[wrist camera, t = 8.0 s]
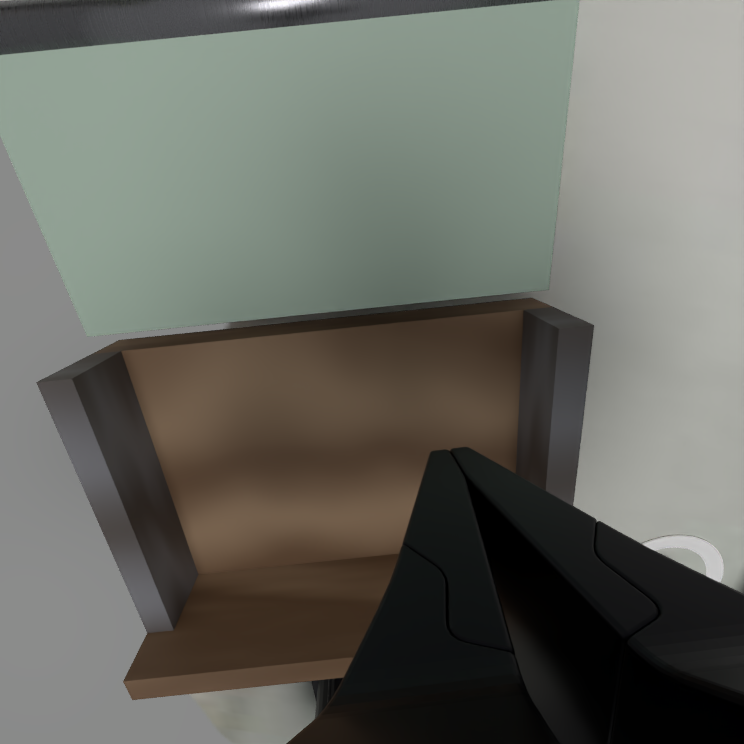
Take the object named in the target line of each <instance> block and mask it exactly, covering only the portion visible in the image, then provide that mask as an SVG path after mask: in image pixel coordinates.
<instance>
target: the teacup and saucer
mask: <svg viewBox="0 0 744 744" xmlns="http://www.w3.org/2000/svg"><path fill="white" fill-rule="evenodd" d="M642 544H643V545H644V546H646V547H648V548H650V549H652V550H654V551H655V550H658V549H663V548H671V547H677V548H685V549H689V550H691V551H694V552H695V553H697V554H698V555H700V556H701V558H702V559H703V560H704V562H705V565H706V576H707V577H709V578H711V579H713V580H715V581H718V582H721V580H722V576H723V571H724V565H723V560H722V557H721V555H720V553H719V551H718V550H717V549H716V548H715V547H714V546H713V545H712V544H711V543H709V542H707V541H706V540H703V539H701V538H698V537H694V536H688V535H671V536H664V537H659V538H655V539H652V540H649V541H646V542H644V543H642Z"/></svg>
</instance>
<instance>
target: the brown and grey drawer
mask: <svg viewBox="0 0 744 744" xmlns="http://www.w3.org/2000/svg"><path fill="white" fill-rule="evenodd" d="M593 330H594V325H592V324H590V323H588V322H586V321H583V320H581V319H579V318H577V317H574V316H572V315H570V314H567V313H565V312H563V311H561V310H558V309H556V308H554V307H552V306H549V305H547V304H545V303H543V302H540V301H538V300H536V299H533V298H526V299H516V300H507V301H497V302H487V303H477V304H467V305H458V306H448V307H438V308H428V309H419V310H409V311H399V312H389V313H379V314H370V315H360V316H350V317H340V318H331V319H321V320H311V321H301V322H291V323H282V324H272V325H262V326H252V327H243V328H233V329H223V330H214V331H203V332H194V333H185V334H175V335H165V336H155V337H145V338H135V339H126V340H118V341H116V342H115V343H113V344H111V345H109V346H107V347H105V348H103V349H101V350H99V351H97V352H95V353H93V354H91V355H89V356H87V357H85V358H83V359H82V360H79V361H77V362H76V363H74V364H72V365H70V366H68V367H66V368H64V369H62V370H60V371H58V372H56V373H54V374H52V375H50V376H48V377H46V378H44V379H42V380H40V381H38V382H37V385H38V387H39V389H40V391H41V394H42V396H43V398H44V401H45V403H46V405H47V407H48V410H49V412H50V414H51V416H52V419H53V421H54V423H55V425H56V428H57V430H58V432H59V434H60V437H61V439H62V441H63V444H64V446H65V448H66V450H67V453H68V455H69V457H70V459H71V461H72V464H73V466H74V468H75V471H76V473H77V475H78V477H79V479H80V482H81V484H82V486H83V488H84V491H85V493H86V495H87V498H88V500H89V502H90V505H91V507H92V509H93V511H94V513H95V516H96V518H97V520H98V523H99V525H100V527H101V529H102V532H103V534H104V536H105V538H106V541H107V543H108V545H109V547H110V550H111V552H112V554H113V557H114V559H115V561H116V563H117V565H118V568H119V570H120V572H121V575H122V577H123V579H124V581H125V583H126V586H127V588H128V590H129V592H130V595H131V597H132V599H133V602H134V604H135V606H136V608H137V611H138V613H139V615H140V617H141V620H142V622H143V624H144V626H145V629H146V631H147V635H146V637H145V639H144V641H143V643H142V645H141V647H140V649H139V651H138V653H137V655H136V657H135V659H134V661H133V663H132V665H131V667H130V669H129V671H128V673H127V675H126V677H125V679H124V681H123V682H124V684H125V686H126V688H127V690H128V692H129V694H130V696H131V698H132V700H137V699H146V698H156V697H165V696H174V695H183V694H193V693H203V692H212V691H222V690H231V689H240V688H250V687H259V686H269V685H278V684H287V683H297V682H306V681H316V680H325V679H334V678H343V677H344V675H345V673H346V671H347V669H348V667H349V665H350V663H351V661H352V659H353V657H354V655H355V653H356V651H357V649H358V647H359V645H360V643H361V641H362V639H363V637H364V635H365V633H366V631H367V629H368V627H369V625H370V623H371V621H372V619H373V617H374V615H375V612H376V610H377V608H378V606H379V604H380V602H381V600H382V597H383V595H384V593H385V591H386V588H387V586H388V584H389V581H390V579H391V576H392V573H393V570H394V567H395V564H396V562H397V558H398V555H399V552H400V549H401V546H402V543H403V540H404V536H405V533H406V530H407V526H408V523H409V520H410V516H411V513H412V510H413V506H414V503H415V500H416V497H417V493H418V490H419V487H420V483H421V480H422V477H423V473H424V470H425V467H426V464H427V460H428V457H429V454H430V452H431V451H435V450H443V449H447V450H449V451H450V449H452V448H459V447H469V448H471V449H473V450H475V451H476V452H478V453H480V454H482V455H484V456H485V457H487V458H489V459H491V460H492V461H494V462H496V463H498V464H499V465H501V466H503V467H505V468H507V469H508V470H510V471H512V472H514V473H515V474H517V475H519V476H521V477H523V478H524V479H526V480H528V481H530V482H531V483H533V484H535V485H537V486H538V487H540V488H542V489H544V490H546V491H547V492H549V493H551V494H553V495H554V496H556V497H558V498H560V499H561V500H563V501H565V502H567V503H569V504H570V505H572V506H573V502H574V493H575V485H576V476H577V468H578V459H579V450H580V442H581V433H582V425H583V416H584V407H585V399H586V390H587V382H588V373H589V364H590V356H591V347H592V339H593Z"/></svg>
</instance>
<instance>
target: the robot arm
mask: <svg viewBox="0 0 744 744" xmlns="http://www.w3.org/2000/svg"><path fill="white" fill-rule="evenodd" d="M312 685H313V689H314V693H315V697H316V715H315V720H314V721H313V722H311V723H310V724H309V725H308V726H307V727H306V728H304V729H303V730H302V731H301V732H300V733H298V734H297V735H296V736H295V737H294V738H293V739H291V740H290V741H289V742H288V743H287V744H744V594H743V593H741V592H738V591H736V590H734V589H732V588H730V587H728V586H726V585H724V584H722V583H720V582H718V581H715V580H713V579H711V578H709V577H707V576H705V575H703V574H701V573H699V572H697V571H695V570H692V569H690V568H688V567H686V566H684V565H682V564H680V563H678V562H676V561H674V560H672V559H670V558H668V557H666V556H664V555H662V554H660V553H658V552H656V551H654V550H652V549H650V548H648V547H646V546H644V545H643V544H641V543H639V542H637V541H635V540H633V539H631V538H630V537H628V536H626V535H624V534H622V533H620V532H618V531H617V530H615V529H613V528H611V527H610V526H608V525H606V524H604V523H603V522H601V521H598V522H597V520H596V519H595V518H593V517H592V516H590V515H588V514H586V513H585V512H583V511H581V510H579V509H577V508H576V507H574V506H572V505H570V504H569V503H567V502H565V501H563V500H561V499H560V498H558V497H556V496H554V495H553V494H551V493H549V492H547V491H546V490H544V489H542V488H540V487H538V486H537V485H535V484H533V483H531V482H530V481H528V480H526V479H524V478H523V477H521V476H519V475H517V474H515V473H514V472H512V471H510V470H508V469H507V468H505V467H503V466H501V465H499V464H498V463H496V462H494V461H492V460H491V459H489V458H487V457H485V456H484V455H482V454H480V453H478V452H476V451H475V450H473V449H471V448H469V447H459V448H452V449H450V451H449V450H447V449H443V450H435V451H431V452H430V454H429V457H428V460H427V464H426V467H425V470H424V473H423V477H422V480H421V483H420V487H419V490H418V493H417V497H416V500H415V503H414V506H413V510H412V513H411V516H410V520H409V523H408V526H407V530H406V533H405V536H404V540H403V543H402V546H401V549H400V552H399V555H398V558H397V562H396V564H395V567H394V570H393V573H392V576H391V579H390V581H389V584H388V586H387V588H386V591H385V593H384V595H383V597H382V600H381V602H380V604H379V606H378V608H377V610H376V612H375V615H374V617H373V619H372V621H371V623H370V625H369V627H368V629H367V631H366V633H365V635H364V637H363V639H362V641H361V643H360V645H359V647H358V649H357V651H356V653H355V655H354V657H353V659H352V661H351V663H350V665H349V667H348V669H347V671H346V673H345V675H344V677H343V678H334V679H325V680H316V681H312Z"/></svg>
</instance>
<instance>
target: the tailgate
mask: <svg viewBox="0 0 744 744" xmlns="http://www.w3.org/2000/svg"><path fill="white" fill-rule="evenodd" d="M578 10H579V0H8V1H0V137H1V139H2V141H3V144H4V146H5V148H6V151H7V153H8V155H9V157H10V160H11V162H12V164H13V167H14V169H15V171H16V174H17V176H18V178H19V181H20V183H21V185H22V187H23V190H24V192H25V194H26V197H27V198H28V201H29V204H30V206H31V208H32V210H33V213H34V215H35V217H36V220H37V222H38V224H39V227H40V229H41V231H42V234H43V236H44V238H45V240H46V243H47V245H48V247H49V250H50V252H51V254H52V257H53V259H54V261H55V263H56V266H57V268H58V270H59V273H60V275H61V277H62V280H63V282H64V284H65V287H66V289H67V291H68V294H69V296H70V298H71V300H72V303H73V305H74V307H75V310H76V312H77V314H78V316H79V319H80V321H81V324H82V326H83V328H84V330H85V333H86V335H87V337H90V336H101V335H111V334H120V333H130V332H140V331H149V330H160V329H169V328H179V327H189V326H199V325H209V324H218V323H228V322H238V321H248V320H258V319H267V318H277V317H287V316H297V315H306V314H316V313H326V312H336V311H346V310H355V309H365V308H375V307H385V306H395V305H404V304H414V303H424V302H434V301H443V300H453V299H463V298H473V297H483V296H492V295H502V294H512V293H522V292H532V291H541V290H549V282H550V273H551V263H552V254H553V244H554V235H555V226H556V216H557V207H558V197H559V188H560V179H561V169H562V160H563V150H564V141H565V132H566V122H567V113H568V103H569V94H570V85H571V75H572V66H573V57H574V47H575V38H576V28H577V19H578Z"/></svg>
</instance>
